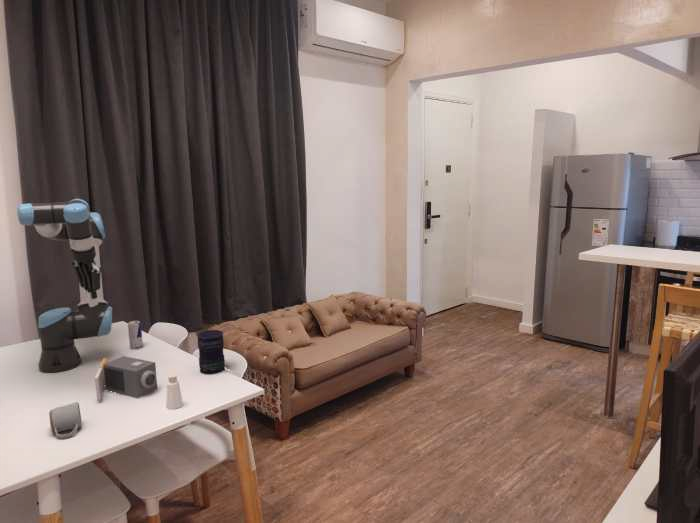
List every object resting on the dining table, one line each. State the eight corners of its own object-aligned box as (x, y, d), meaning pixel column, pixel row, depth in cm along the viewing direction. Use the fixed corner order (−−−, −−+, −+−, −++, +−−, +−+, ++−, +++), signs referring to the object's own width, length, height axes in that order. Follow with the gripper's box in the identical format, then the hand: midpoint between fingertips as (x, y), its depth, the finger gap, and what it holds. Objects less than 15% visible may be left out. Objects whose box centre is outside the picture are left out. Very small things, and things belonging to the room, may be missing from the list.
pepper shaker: (173, 411, 167) (171, 379, 165) (162, 407, 169) (160, 376, 167) (186, 404, 171) (184, 374, 169) (175, 400, 174) (173, 370, 172)
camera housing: (105, 390, 183) (102, 363, 181) (125, 380, 191) (123, 354, 189) (141, 399, 175) (139, 371, 173) (161, 389, 183) (159, 361, 181)
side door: (105, 377, 192) (103, 356, 190) (108, 376, 192) (106, 356, 191) (96, 400, 172) (94, 377, 171) (100, 400, 173) (98, 377, 171)
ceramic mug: (51, 426, 157) (48, 404, 156) (81, 420, 161) (78, 398, 160) (51, 443, 148) (48, 419, 147) (82, 435, 152) (80, 412, 151)
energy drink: (145, 346, 228) (143, 321, 225) (137, 350, 223) (134, 324, 221) (136, 345, 229) (133, 320, 227) (127, 349, 224) (124, 323, 222)
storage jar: (217, 363, 208) (215, 328, 205) (229, 369, 201) (227, 333, 198) (194, 369, 201) (192, 334, 198) (207, 376, 194) (204, 339, 191)
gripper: (60, 246, 177) (72, 304, 187) (86, 255, 172) (97, 314, 182) (79, 240, 184) (90, 296, 194) (104, 247, 179) (114, 305, 188)
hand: (93, 305), depth 188 cm, fingers closed
